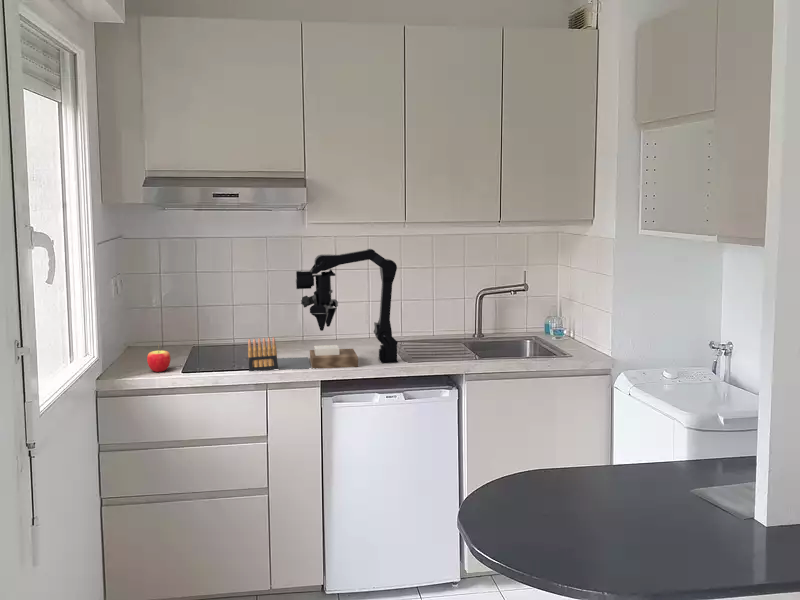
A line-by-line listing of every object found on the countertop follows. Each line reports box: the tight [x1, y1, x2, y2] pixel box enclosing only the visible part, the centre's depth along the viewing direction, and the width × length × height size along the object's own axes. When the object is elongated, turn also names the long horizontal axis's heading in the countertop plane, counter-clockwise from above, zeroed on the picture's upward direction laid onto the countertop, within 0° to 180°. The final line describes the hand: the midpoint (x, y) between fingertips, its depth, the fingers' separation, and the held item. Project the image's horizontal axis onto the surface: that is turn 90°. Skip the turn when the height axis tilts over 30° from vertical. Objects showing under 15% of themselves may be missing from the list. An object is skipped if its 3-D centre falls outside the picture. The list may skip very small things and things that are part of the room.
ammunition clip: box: [247, 336, 278, 372], centre depth 302 cm, size 11×2×12 cm, turn 99°
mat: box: [277, 356, 312, 370], centre depth 313 cm, size 14×20×1 cm
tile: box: [313, 344, 340, 356], centre depth 313 cm, size 9×7×2 cm
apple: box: [146, 343, 171, 373], centre depth 301 cm, size 8×8×10 cm
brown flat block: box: [309, 348, 359, 369], centre depth 314 cm, size 17×16×4 cm
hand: (325, 328), depth 312 cm, fingers open, 9 cm apart
